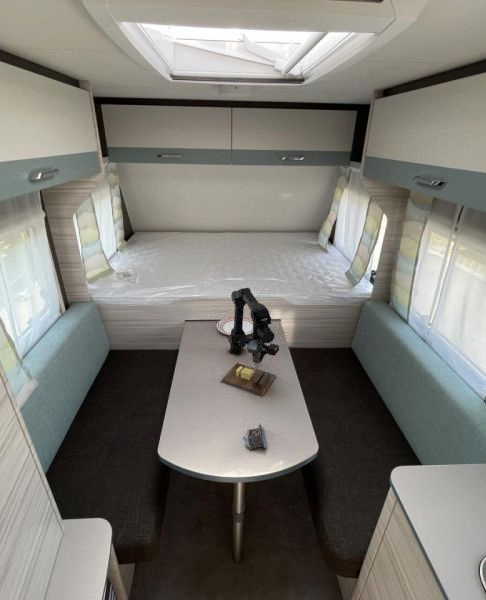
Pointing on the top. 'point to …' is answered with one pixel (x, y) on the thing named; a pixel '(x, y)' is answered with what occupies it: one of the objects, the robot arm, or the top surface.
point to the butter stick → (247, 373)
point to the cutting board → (254, 385)
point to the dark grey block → (257, 361)
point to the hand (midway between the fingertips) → (258, 360)
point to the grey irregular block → (255, 438)
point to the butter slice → (239, 371)
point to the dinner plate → (228, 325)
